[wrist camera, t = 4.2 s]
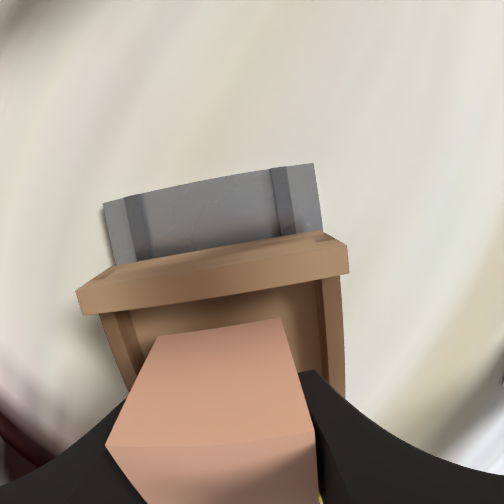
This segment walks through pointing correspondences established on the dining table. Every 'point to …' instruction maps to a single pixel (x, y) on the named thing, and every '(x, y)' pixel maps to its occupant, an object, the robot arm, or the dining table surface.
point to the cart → (228, 299)
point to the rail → (214, 214)
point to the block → (218, 421)
